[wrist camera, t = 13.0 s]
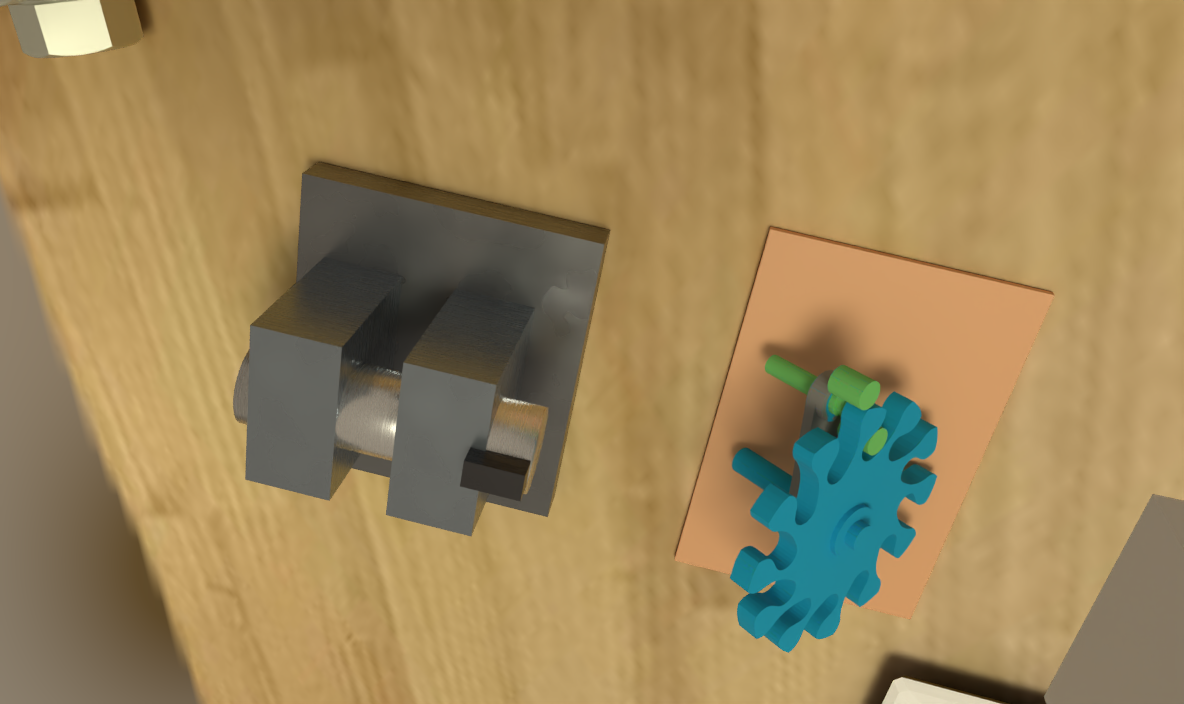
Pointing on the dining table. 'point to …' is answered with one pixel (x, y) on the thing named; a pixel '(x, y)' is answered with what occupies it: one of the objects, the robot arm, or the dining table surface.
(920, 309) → the pad
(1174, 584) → the robot arm
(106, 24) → the valve
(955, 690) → the white square picture frame
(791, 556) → the gear
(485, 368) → the shaft stand
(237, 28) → the dining table surface
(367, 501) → the dining table surface
